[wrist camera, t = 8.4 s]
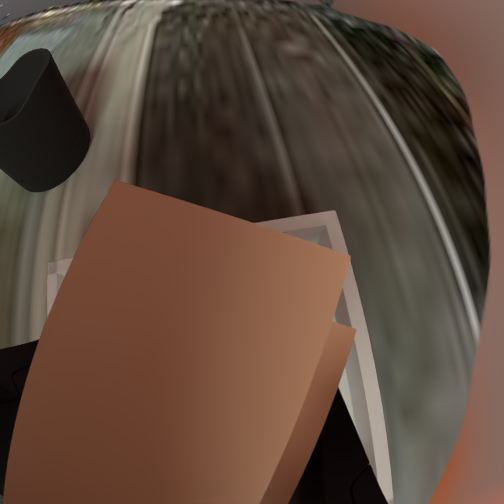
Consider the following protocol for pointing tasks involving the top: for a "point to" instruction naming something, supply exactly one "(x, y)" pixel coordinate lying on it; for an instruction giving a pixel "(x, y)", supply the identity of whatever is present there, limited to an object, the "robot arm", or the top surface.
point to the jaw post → (180, 361)
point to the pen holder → (39, 124)
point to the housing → (347, 313)
